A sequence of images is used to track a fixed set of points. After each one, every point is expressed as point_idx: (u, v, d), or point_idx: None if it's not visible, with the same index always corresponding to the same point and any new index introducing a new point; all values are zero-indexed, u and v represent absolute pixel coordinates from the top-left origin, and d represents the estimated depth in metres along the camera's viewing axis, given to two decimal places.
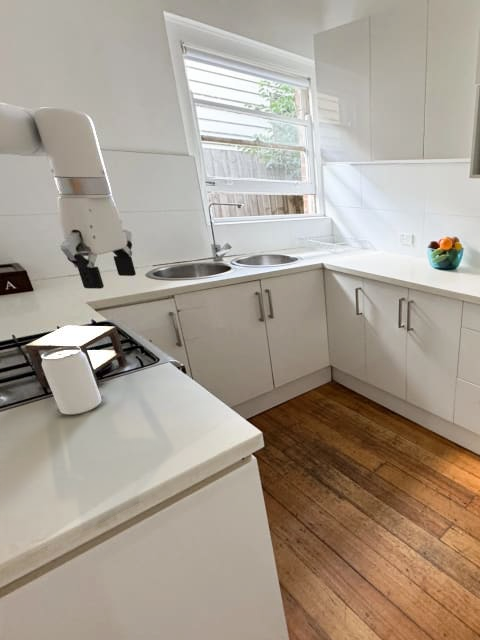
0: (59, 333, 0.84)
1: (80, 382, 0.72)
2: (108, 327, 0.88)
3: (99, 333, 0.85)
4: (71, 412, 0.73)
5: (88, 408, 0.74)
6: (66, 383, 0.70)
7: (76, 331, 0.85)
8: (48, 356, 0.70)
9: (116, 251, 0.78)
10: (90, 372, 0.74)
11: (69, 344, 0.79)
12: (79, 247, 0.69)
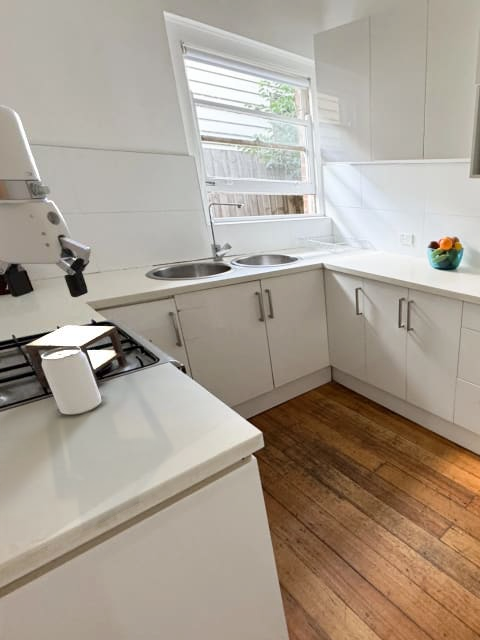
0: (59, 333, 0.84)
1: (80, 382, 0.72)
2: (108, 327, 0.88)
3: (99, 333, 0.85)
4: (71, 412, 0.73)
5: (88, 408, 0.74)
6: (66, 383, 0.70)
7: (76, 331, 0.85)
8: (48, 356, 0.70)
9: None
10: (90, 372, 0.74)
11: (69, 344, 0.79)
12: None
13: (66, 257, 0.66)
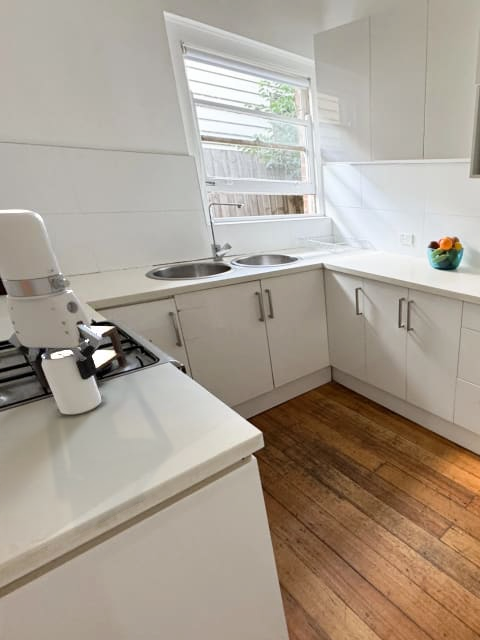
0: None
1: (80, 382, 0.72)
2: (108, 327, 0.88)
3: (99, 333, 0.85)
4: (71, 412, 0.73)
5: (88, 408, 0.74)
6: (66, 383, 0.70)
7: None
8: (48, 356, 0.70)
9: None
10: None
11: None
12: None
13: (81, 343, 0.71)
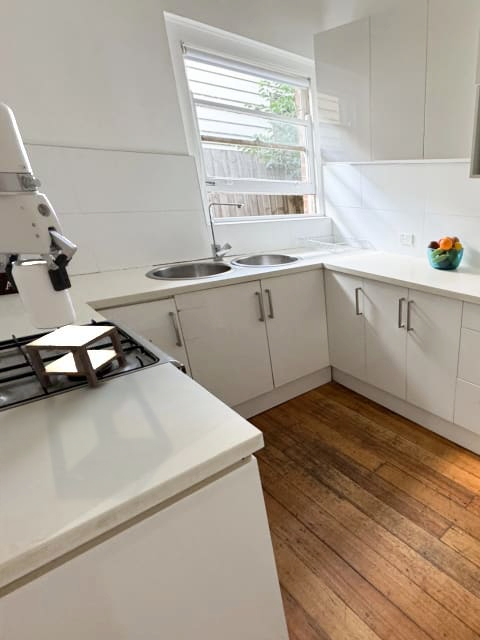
0: (59, 333, 0.84)
1: (52, 293, 0.69)
2: (108, 327, 0.88)
3: (99, 333, 0.85)
4: (43, 326, 0.70)
5: (61, 323, 0.71)
6: (37, 292, 0.68)
7: (76, 331, 0.85)
8: (19, 264, 0.67)
9: None
10: None
11: (69, 344, 0.79)
12: None
13: (53, 251, 0.68)
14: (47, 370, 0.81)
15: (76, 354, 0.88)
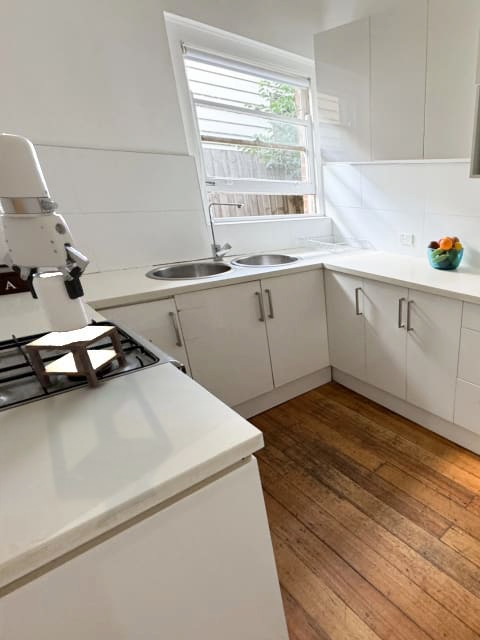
0: (59, 333, 0.84)
1: (68, 301, 0.79)
2: (108, 327, 0.88)
3: (99, 333, 0.85)
4: (60, 330, 0.79)
5: (76, 327, 0.81)
6: (55, 300, 0.77)
7: (76, 331, 0.85)
8: (39, 276, 0.77)
9: None
10: None
11: (69, 344, 0.79)
12: None
13: (68, 264, 0.77)
14: (47, 370, 0.81)
15: (76, 354, 0.88)
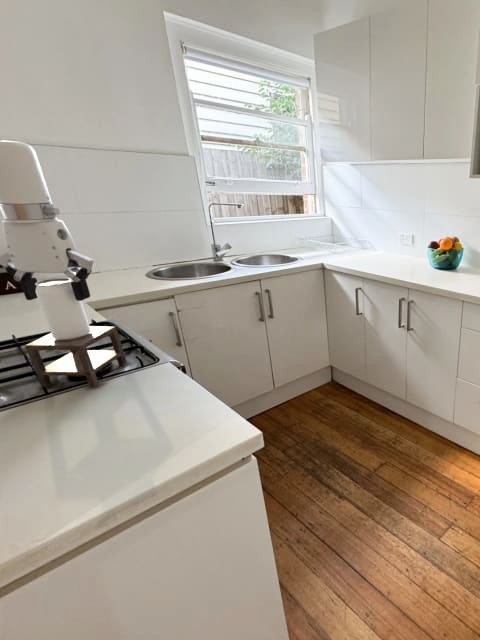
0: None
1: (70, 309, 0.79)
2: (108, 327, 0.88)
3: (99, 333, 0.85)
4: (62, 337, 0.80)
5: (78, 335, 0.81)
6: (57, 308, 0.78)
7: None
8: (42, 284, 0.78)
9: None
10: (80, 302, 0.81)
11: (69, 344, 0.79)
12: None
13: (72, 267, 0.78)
14: (47, 370, 0.81)
15: (76, 354, 0.88)
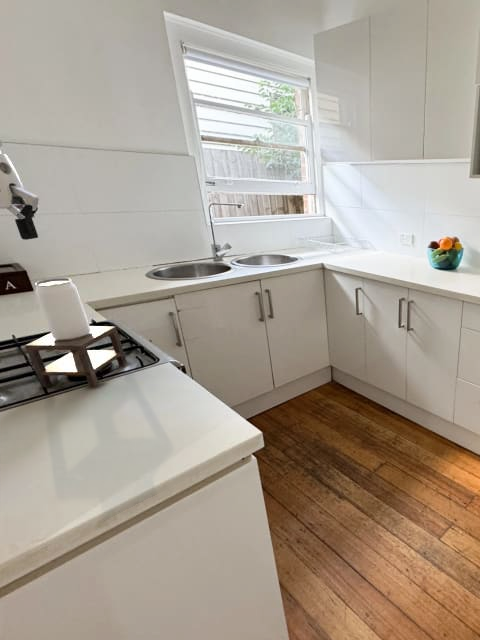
0: None
1: (70, 309, 0.79)
2: (108, 327, 0.88)
3: (99, 333, 0.85)
4: (62, 337, 0.80)
5: (78, 335, 0.81)
6: (57, 308, 0.78)
7: None
8: (42, 284, 0.78)
9: None
10: (80, 302, 0.81)
11: (69, 344, 0.79)
12: None
13: (17, 204, 0.76)
14: (47, 370, 0.81)
15: (76, 354, 0.88)
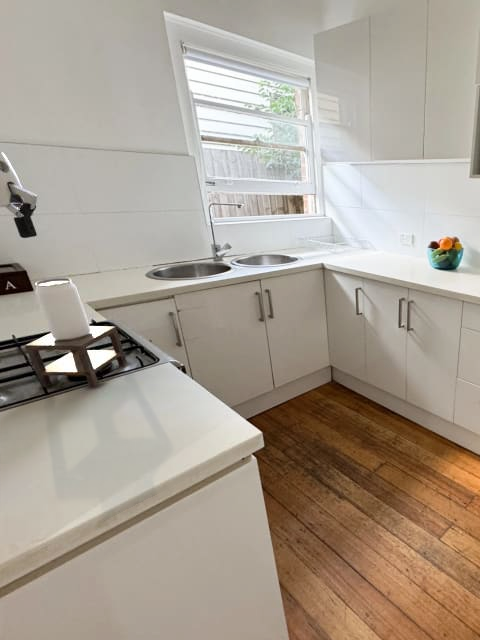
0: None
1: (70, 309, 0.79)
2: (108, 327, 0.88)
3: (99, 333, 0.85)
4: (62, 337, 0.80)
5: (78, 335, 0.81)
6: (57, 308, 0.78)
7: None
8: (42, 284, 0.78)
9: None
10: (80, 302, 0.81)
11: (69, 344, 0.79)
12: None
13: (15, 202, 0.76)
14: (47, 370, 0.81)
15: (76, 354, 0.88)
